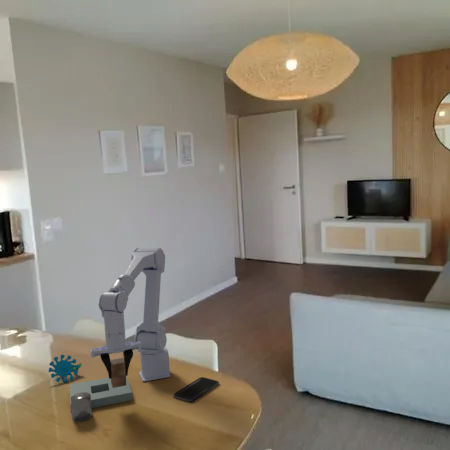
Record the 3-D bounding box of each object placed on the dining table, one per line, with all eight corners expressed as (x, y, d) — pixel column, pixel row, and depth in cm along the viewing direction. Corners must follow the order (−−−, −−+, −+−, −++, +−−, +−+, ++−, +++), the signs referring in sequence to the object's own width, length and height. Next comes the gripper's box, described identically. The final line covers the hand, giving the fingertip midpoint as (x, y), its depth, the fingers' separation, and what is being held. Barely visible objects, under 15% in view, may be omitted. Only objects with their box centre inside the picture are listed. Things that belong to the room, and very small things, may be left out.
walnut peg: (124, 379, 141) (123, 357, 141) (126, 385, 138) (124, 362, 137) (111, 382, 140) (109, 360, 139) (112, 388, 136) (111, 365, 136)
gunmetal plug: (91, 410, 138) (90, 390, 137) (92, 419, 133) (91, 399, 132) (72, 414, 136) (70, 394, 135) (72, 423, 131) (70, 403, 130)
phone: (171, 395, 144) (201, 376, 156) (172, 398, 144) (201, 379, 156) (191, 401, 139) (220, 381, 151) (191, 404, 139) (220, 384, 151)
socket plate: (126, 381, 156) (125, 374, 156) (132, 400, 143) (132, 392, 143) (70, 391, 150) (69, 384, 150) (71, 412, 137) (70, 404, 137)
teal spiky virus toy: (50, 382, 154) (47, 354, 160) (47, 390, 158) (45, 362, 163) (84, 378, 159) (80, 352, 165) (80, 386, 163) (77, 359, 169)
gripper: (90, 340, 131) (94, 386, 132) (141, 332, 136) (144, 376, 137) (88, 332, 138) (92, 376, 139) (137, 325, 142) (140, 367, 144)
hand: (118, 375), depth 139 cm, fingers closed on walnut peg, 4 cm apart
